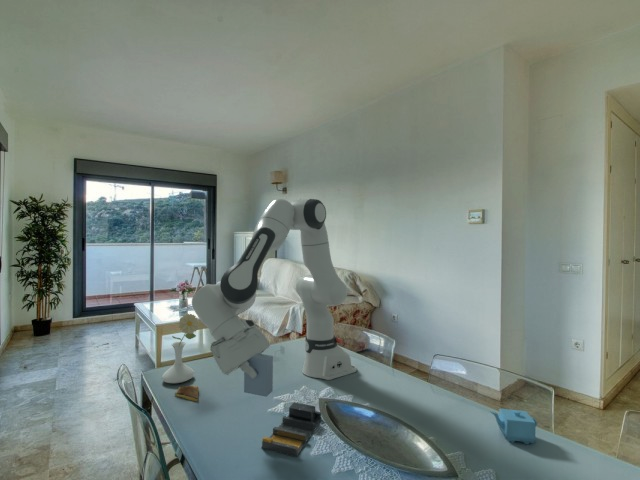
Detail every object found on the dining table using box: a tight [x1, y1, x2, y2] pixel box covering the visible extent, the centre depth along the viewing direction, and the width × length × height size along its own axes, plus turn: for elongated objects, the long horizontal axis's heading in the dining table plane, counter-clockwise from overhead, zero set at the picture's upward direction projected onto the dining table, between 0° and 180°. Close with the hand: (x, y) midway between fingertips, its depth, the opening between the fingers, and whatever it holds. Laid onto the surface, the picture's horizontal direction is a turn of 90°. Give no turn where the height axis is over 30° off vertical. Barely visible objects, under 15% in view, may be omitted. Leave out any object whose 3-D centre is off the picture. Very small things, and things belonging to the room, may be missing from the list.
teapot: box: [490, 408, 538, 445], centre depth 94 cm, size 12×6×8 cm, turn 79°
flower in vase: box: [161, 313, 200, 384], centre depth 129 cm, size 13×11×25 cm
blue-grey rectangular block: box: [243, 353, 274, 398], centre depth 94 cm, size 7×4×10 cm, turn 70°
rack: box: [261, 401, 323, 458], centre depth 95 cm, size 10×19×4 cm, turn 160°
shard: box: [174, 385, 200, 402], centre depth 116 cm, size 11×8×2 cm
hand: (260, 372), depth 94 cm, fingers closed on blue-grey rectangular block, 3 cm apart
